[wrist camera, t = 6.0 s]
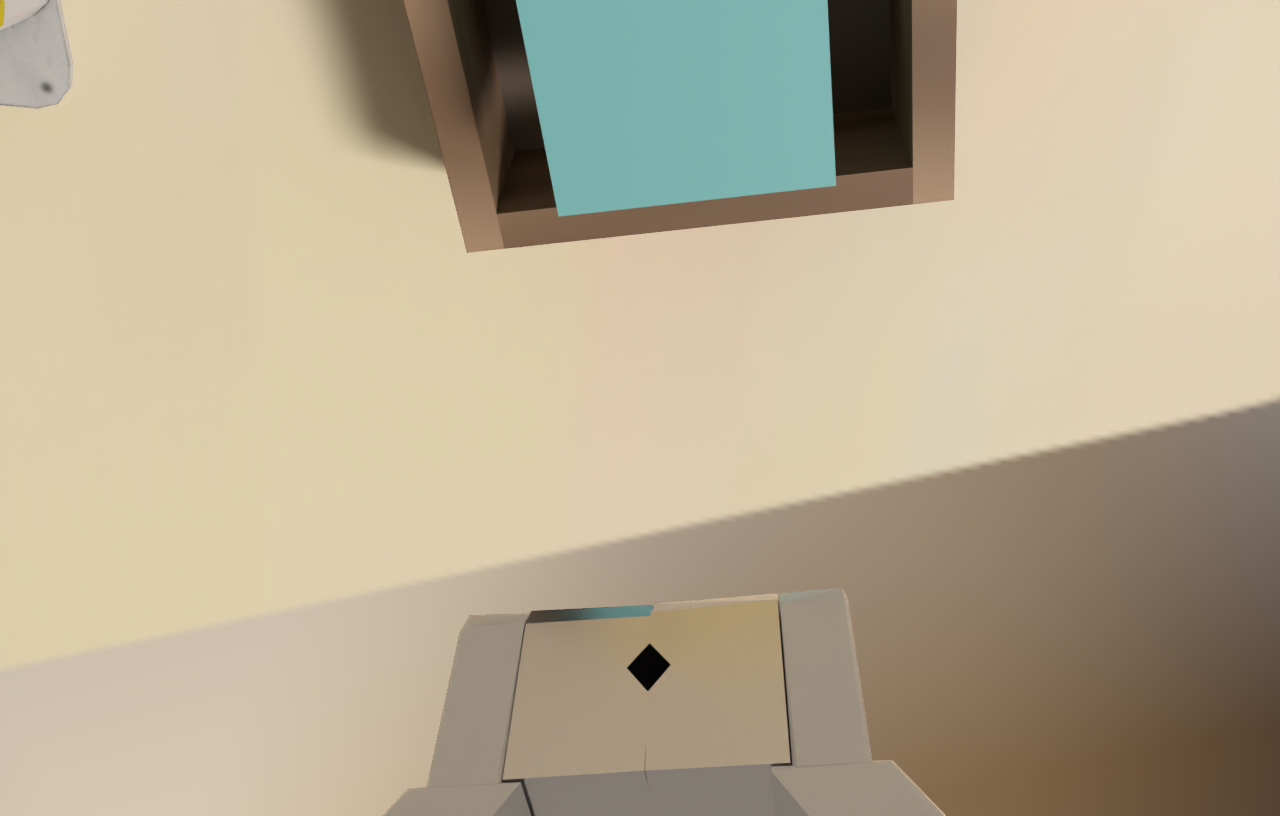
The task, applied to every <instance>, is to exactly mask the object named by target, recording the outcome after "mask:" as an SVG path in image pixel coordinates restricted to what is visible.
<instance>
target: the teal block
mask: <svg viewBox="0 0 1280 816" xmlns="http://www.w3.org/2000/svg"><path fill="white" fill-rule="evenodd" d="M516 4H517V9H518V14H519V19H520V24H521V29H522V34H523V39H524V44H525V49H526V54H527V59H528V65H529V70H530V75H531V80H532V85H533V90H534V95H535V100H536V105H537V110H538V115H539V120H540V125H541V130H542V135H543V140H544V146H545V151H546V156H547V161H548V166H549V171H550V176H551V181H552V186H553V191H554V196H555V201H556V206H557V211H558V216H568V215H577V214H586V213H595V212H604V211H613V210H622V209H631V208H640V207H649V206H658V205H667V204H676V203H685V202H694V201H703V200H712V199H721V198H730V197H739V196H748V195H757V194H766V193H775V192H784V191H793V190H802V189H811V188H820V187H830V186H836V171H835V150H834V128H833V107H832V86H831V65H830V44H829V22H828V1H827V0H516Z"/></svg>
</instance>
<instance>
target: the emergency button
mask: <svg viewBox="0 0 1280 816" xmlns="http://www.w3.org/2000/svg"><path fill="white" fill-rule="evenodd" d="M72 75H73V60H72V55H71V50H70V45H69V41H68V36H67V31H66V26H65V21H64V16H63V11H62V6H61V1H60V0H0V105H5V106H16V107H27V108H42V107H46V106H51V105H55V104H58V103H59V102H60V101H61V100H62V99H63V97H64V96H65V95H66V93H67V92H68V91H69V89H70V88H71V87H72Z"/></svg>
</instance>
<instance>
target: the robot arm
mask: <svg viewBox="0 0 1280 816" xmlns="http://www.w3.org/2000/svg"><path fill="white" fill-rule="evenodd" d="M779 606H780V612H779ZM780 618H781V621H780ZM781 629H782V631H781ZM782 640H783V641H782ZM383 816H946V815H945V814H944V813H943V812H942V811H941V810H940V809H939V808H938V807H937V806H936V805H935V804H934V803H933V802H932V801H931V800H930V798H929V797H927V795H926V794H925V793H924V792H923V791H922V790H921V789H920V788H919V787H918V786H917V785H916V784H915V783H914V782H913V781H912V780H911V779H910V778H909V777H908V776H907V775H906V774H905V773H904V772H903V771H902V770H901V769H900V767H898V766H897V765H896V763H895V762H894V761H893V760H892V761H891V760H889V761H872V756H871V750H870V743H869V736H868V731H867V723H866V716H865V710H864V703H863V696H862V690H861V683H860V677H859V670H858V663H857V656H856V650H855V643H854V636H853V630H852V623H851V617H850V610H849V603H848V597H847V595H846V594H845V592H844V591H843V589H842V588H836V589H824V590H813V591H800V592H788V593H780V597H779V604H778V594H766V595H754V596H741V597H730V598H718V599H706V600H695V601H682V602H671V603H658V604H654V605H643V606H624V607H605V608H604V607H603V608H582V609H562V610H542V611H531V612H529V613H507V614H486V615H470V616H469V617H468V619H467V620H466V622H465V624H464V625H463V627H462V629H461V630H460V633H459V637H458V642H457V647H456V652H455V656H454V661H453V666H452V670H451V675H450V680H449V685H448V689H447V694H446V699H445V703H444V709H443V713H442V718H441V722H440V727H439V732H438V737H437V741H436V746H435V750H434V755H433V760H432V765H431V769H430V774H429V778H428V783H427V787H422V788H410V789H407V790H406V791H405V792H404V793H403V794H402V795H401V797H400V798H399V799H398V800H397V801H396V802H395V803H394V804H393V805H392V806H391V807H390V808H389V809H388V811H387V812H386V813H385V814H384V815H383Z"/></svg>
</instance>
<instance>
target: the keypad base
mask: <svg viewBox="0 0 1280 816" xmlns="http://www.w3.org/2000/svg"><path fill="white" fill-rule="evenodd" d="M827 1H828V22H829V44H830V65H831V86H832V107H833V128H834V150H835V171H836V186H830V187H820V188H811V189H802V190H793V191H784V192H775V193H766V194H757V195H748V196H739V197H730V198H721V199H712V200H703V201H694V202H685V203H676V204H667V205H658V206H649V207H640V208H631V209H622V210H613V211H604V212H595V213H586V214H577V215H568V216H558V211H557V206H556V201H555V196H554V191H553V186H552V181H551V176H550V171H549V166H548V161H547V156H546V151H545V146H544V140H543V135H542V130H541V125H540V120H539V115H538V110H537V105H536V100H535V95H534V90H533V85H532V80H531V75H530V70H529V65H528V59H527V54H526V49H525V44H524V39H523V34H522V29H521V24H520V19H519V14H518V9H517V4H516V0H404V4H405V8H406V12H407V16H408V20H409V24H410V28H411V32H412V36H413V40H414V44H415V48H416V52H417V56H418V60H419V64H420V68H421V72H422V76H423V80H424V84H425V88H426V92H427V96H428V100H429V104H430V108H431V112H432V115H433V119H434V123H435V127H436V131H437V135H438V139H439V143H440V147H441V151H442V155H443V159H444V163H445V167H446V171H447V175H448V179H449V183H450V187H451V191H452V195H453V199H454V203H455V207H456V211H457V215H458V219H459V223H460V227H461V231H462V235H463V239H464V243H465V247H466V251H467V253H468V252H478V251H487V250H496V249H505V248H514V247H524V246H533V245H542V244H551V243H561V242H570V241H579V240H588V239H597V238H607V237H616V236H625V235H634V234H643V233H653V232H662V231H671V230H680V229H689V228H699V227H708V226H717V225H726V224H736V223H745V222H754V221H763V220H772V219H782V218H791V217H800V216H809V215H818V214H828V213H837V212H846V211H855V210H864V209H874V208H883V207H892V206H901V205H910V204H920V203H929V202H938V201H947V200H954V151H955V85H956V20H957V0H827Z"/></svg>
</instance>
